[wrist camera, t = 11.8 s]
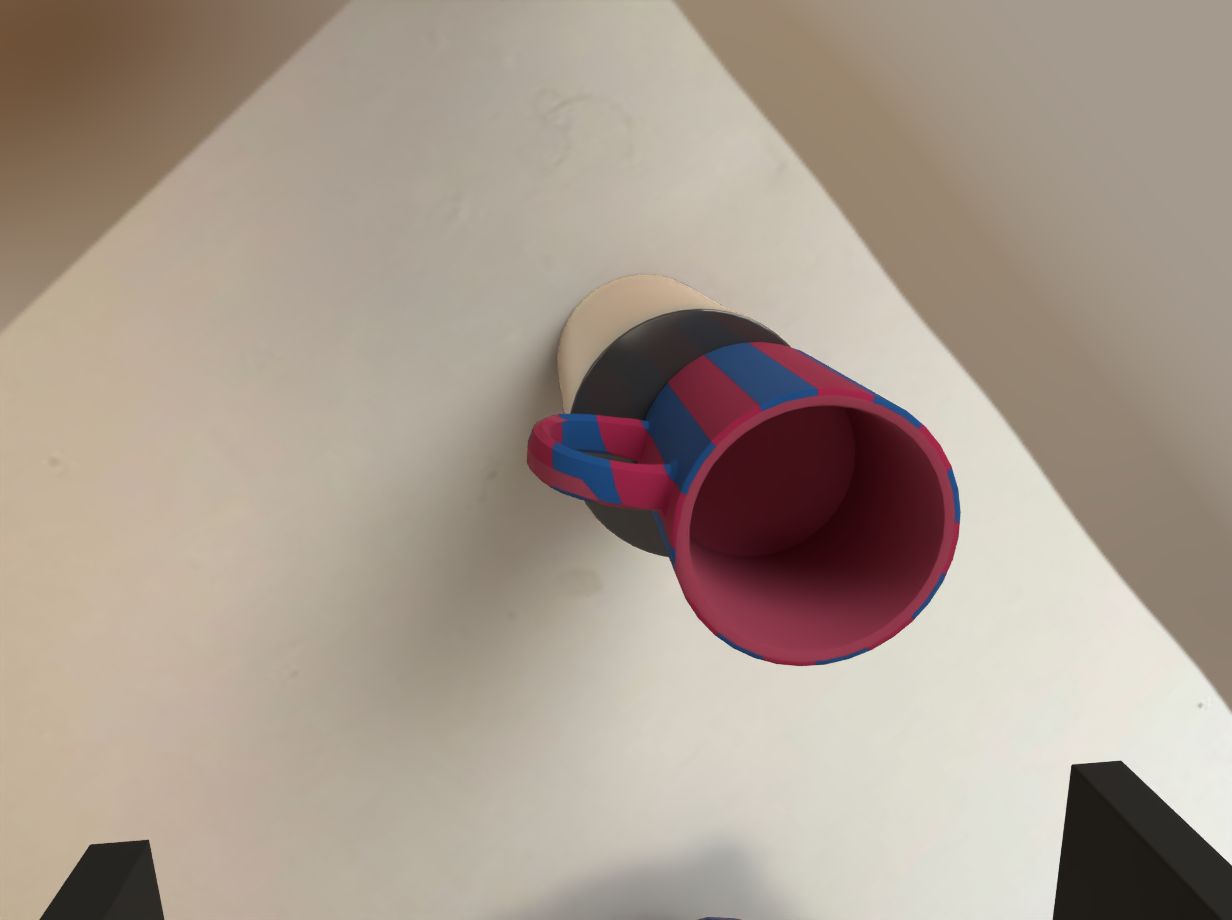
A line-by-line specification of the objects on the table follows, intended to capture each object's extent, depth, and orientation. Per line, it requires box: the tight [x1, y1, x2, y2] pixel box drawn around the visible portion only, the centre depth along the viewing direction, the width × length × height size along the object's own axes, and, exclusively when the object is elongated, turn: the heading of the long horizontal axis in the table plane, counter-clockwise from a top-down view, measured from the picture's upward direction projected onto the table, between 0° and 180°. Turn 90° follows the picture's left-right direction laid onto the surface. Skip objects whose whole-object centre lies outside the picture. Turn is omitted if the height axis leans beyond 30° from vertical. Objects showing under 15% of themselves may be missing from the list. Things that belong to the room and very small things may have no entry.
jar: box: [557, 274, 790, 557], centre depth 34 cm, size 8×8×13 cm
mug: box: [527, 342, 960, 666], centre depth 24 cm, size 7×10×7 cm
